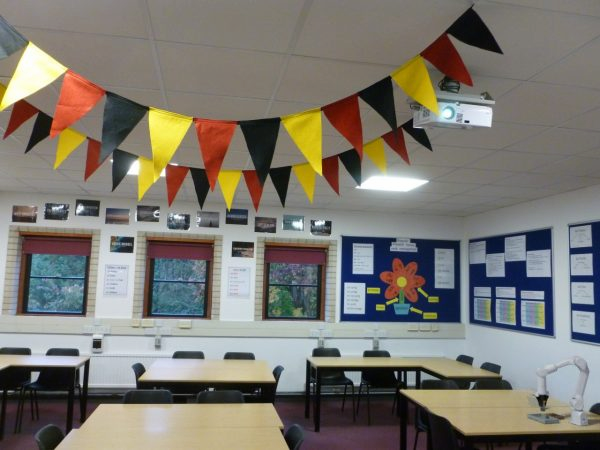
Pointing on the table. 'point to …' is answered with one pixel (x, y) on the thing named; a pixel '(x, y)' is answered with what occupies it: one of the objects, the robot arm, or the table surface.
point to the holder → (555, 416)
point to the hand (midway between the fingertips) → (542, 406)
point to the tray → (543, 418)
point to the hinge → (534, 401)
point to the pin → (543, 406)
